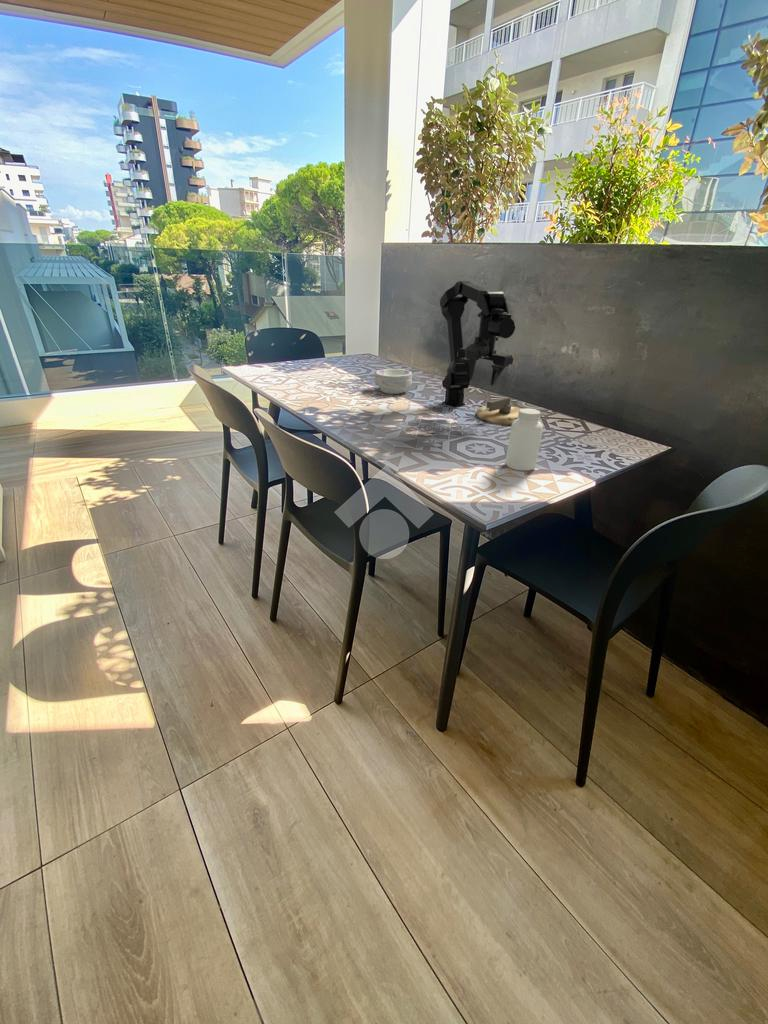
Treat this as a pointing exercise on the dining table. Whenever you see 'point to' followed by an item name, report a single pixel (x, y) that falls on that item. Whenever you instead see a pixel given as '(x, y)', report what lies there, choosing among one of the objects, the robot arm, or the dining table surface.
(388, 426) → the dining table surface
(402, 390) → the white stone bowl
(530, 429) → the pill bottle
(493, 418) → the dial board
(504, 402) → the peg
